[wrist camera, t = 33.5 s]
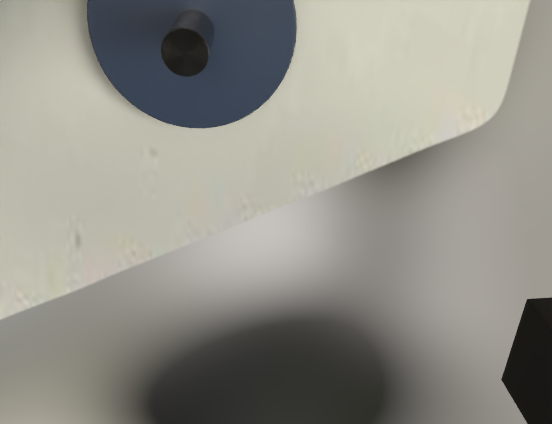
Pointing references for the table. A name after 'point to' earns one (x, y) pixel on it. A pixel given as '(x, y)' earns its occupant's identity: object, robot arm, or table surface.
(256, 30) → the pot lid
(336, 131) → the table surface
